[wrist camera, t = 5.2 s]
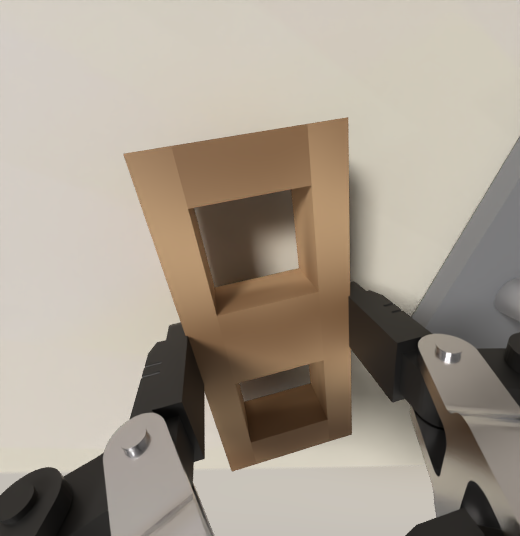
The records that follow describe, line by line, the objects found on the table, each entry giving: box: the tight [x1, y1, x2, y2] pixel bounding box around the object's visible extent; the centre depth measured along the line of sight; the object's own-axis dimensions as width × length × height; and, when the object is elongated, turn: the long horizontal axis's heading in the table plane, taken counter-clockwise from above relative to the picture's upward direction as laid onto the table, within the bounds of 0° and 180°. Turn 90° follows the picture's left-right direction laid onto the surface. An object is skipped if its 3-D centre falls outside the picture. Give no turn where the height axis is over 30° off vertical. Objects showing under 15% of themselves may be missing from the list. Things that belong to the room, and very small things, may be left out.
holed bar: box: [124, 117, 352, 471], centre depth 10 cm, size 13×6×2 cm, turn 9°
